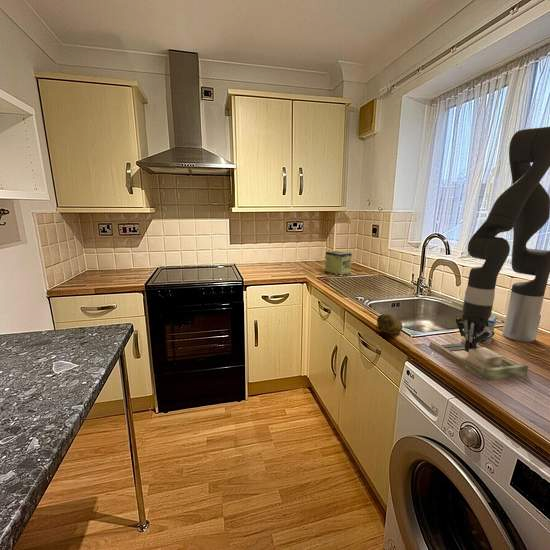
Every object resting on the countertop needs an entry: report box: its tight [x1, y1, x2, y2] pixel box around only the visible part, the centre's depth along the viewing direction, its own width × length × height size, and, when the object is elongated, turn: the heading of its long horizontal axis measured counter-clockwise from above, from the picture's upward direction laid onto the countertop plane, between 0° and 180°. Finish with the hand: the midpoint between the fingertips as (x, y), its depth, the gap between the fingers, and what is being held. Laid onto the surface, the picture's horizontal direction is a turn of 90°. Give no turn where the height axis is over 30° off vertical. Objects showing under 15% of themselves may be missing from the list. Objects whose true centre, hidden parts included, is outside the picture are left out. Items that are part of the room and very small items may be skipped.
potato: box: [376, 313, 403, 335], centre depth 113 cm, size 8×13×8 cm, turn 112°
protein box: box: [324, 250, 353, 276], centre depth 213 cm, size 10×16×16 cm
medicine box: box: [482, 314, 497, 345], centre depth 109 cm, size 8×4×9 cm, turn 141°
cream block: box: [466, 347, 503, 371], centre depth 92 cm, size 6×6×4 cm
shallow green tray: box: [429, 337, 529, 381], centre depth 95 cm, size 14×22×3 cm, turn 12°
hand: (469, 351), depth 97 cm, fingers closed
